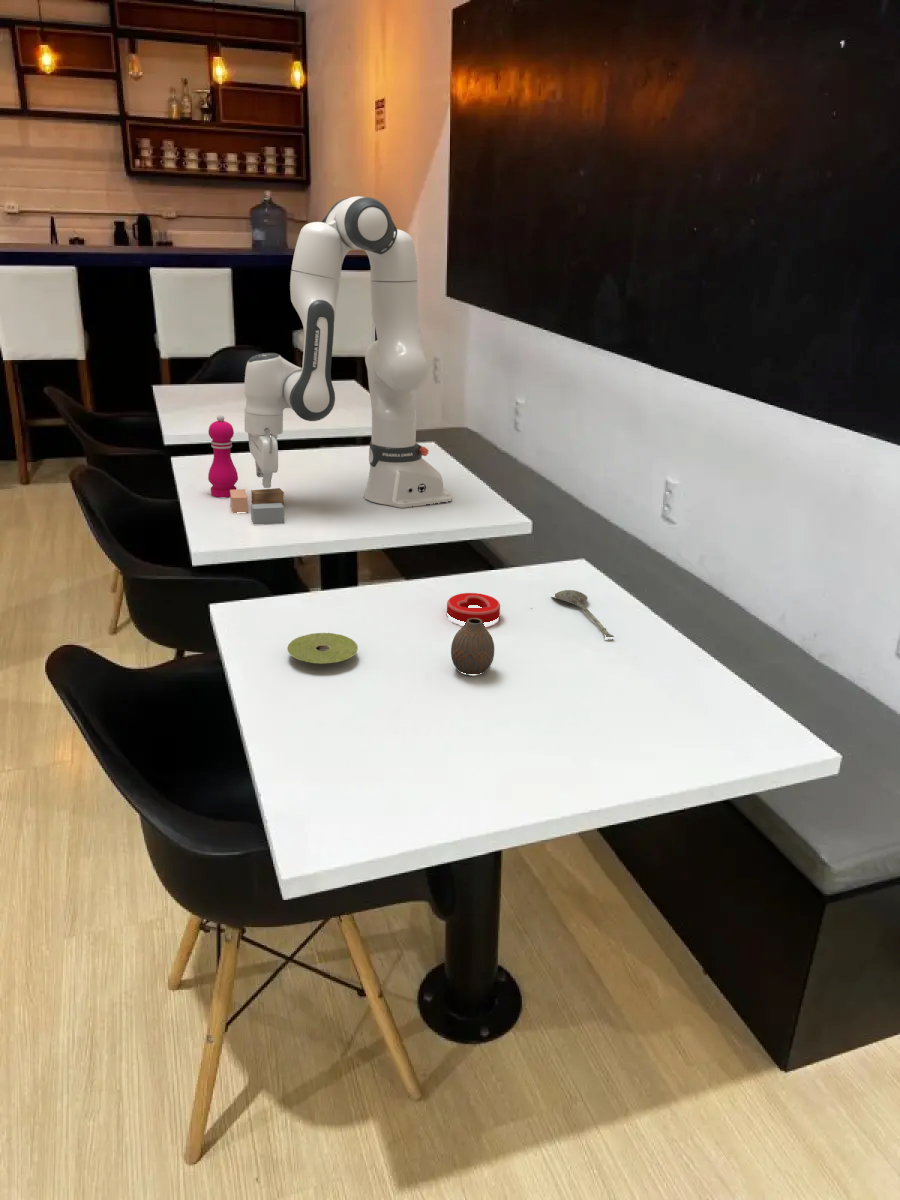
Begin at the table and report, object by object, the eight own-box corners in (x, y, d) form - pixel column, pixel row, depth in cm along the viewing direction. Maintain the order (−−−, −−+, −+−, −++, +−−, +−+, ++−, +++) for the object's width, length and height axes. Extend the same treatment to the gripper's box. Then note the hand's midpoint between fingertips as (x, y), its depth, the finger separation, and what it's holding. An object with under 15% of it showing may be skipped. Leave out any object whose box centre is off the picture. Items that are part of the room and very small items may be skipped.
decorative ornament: (496, 631, 162) (497, 615, 161) (442, 625, 163) (443, 609, 162) (501, 610, 171) (502, 594, 170) (450, 605, 172) (451, 589, 171)
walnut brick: (280, 503, 225) (279, 488, 224) (283, 507, 222) (283, 492, 221) (251, 506, 222) (251, 490, 221) (255, 510, 219) (254, 494, 218)
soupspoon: (577, 598, 181) (546, 601, 179) (578, 582, 180) (547, 585, 178) (625, 641, 161) (591, 645, 160) (627, 623, 160) (592, 627, 158)
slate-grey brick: (281, 519, 214) (281, 502, 212) (284, 523, 211) (283, 507, 209) (251, 521, 212) (250, 504, 210) (253, 525, 209) (253, 508, 207)
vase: (443, 663, 149) (446, 614, 145) (482, 658, 151) (486, 610, 148) (459, 682, 143) (462, 631, 139) (499, 677, 145) (503, 627, 142)
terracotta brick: (230, 505, 222) (229, 489, 220) (245, 505, 223) (244, 489, 221) (232, 514, 216) (232, 498, 214) (247, 513, 217) (247, 497, 215)
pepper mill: (234, 499, 226) (231, 418, 219) (205, 497, 226) (201, 416, 219) (241, 491, 233) (238, 412, 225) (213, 489, 233) (209, 411, 225)
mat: (371, 654, 150) (371, 643, 149) (329, 680, 141) (329, 669, 140) (316, 637, 155) (316, 626, 155) (273, 661, 146) (272, 650, 145)
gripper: (285, 434, 207) (284, 493, 212) (270, 415, 224) (269, 471, 229) (257, 434, 204) (256, 494, 210) (244, 415, 222) (244, 471, 227)
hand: (263, 481), depth 220 cm, fingers open, 8 cm apart
